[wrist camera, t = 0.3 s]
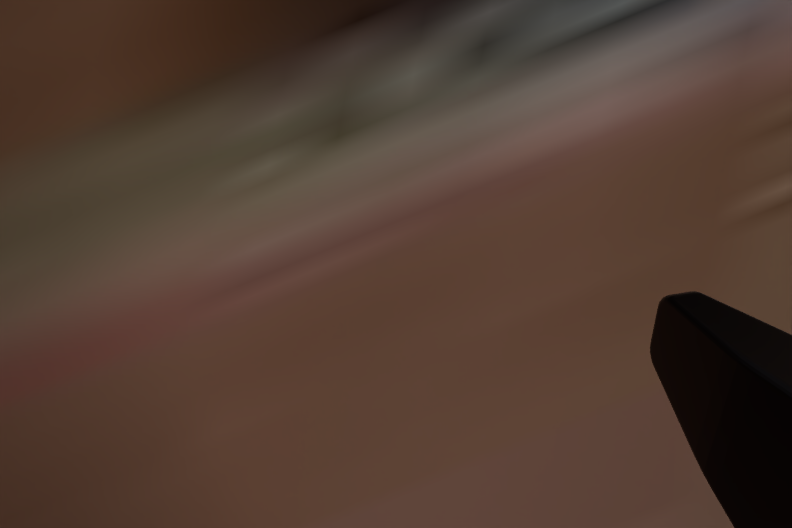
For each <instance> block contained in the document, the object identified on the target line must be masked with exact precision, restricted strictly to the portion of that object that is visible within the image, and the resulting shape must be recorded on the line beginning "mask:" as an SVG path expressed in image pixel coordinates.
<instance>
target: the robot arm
mask: <svg viewBox="0 0 792 528" xmlns="http://www.w3.org/2000/svg"><path fill="white" fill-rule="evenodd" d="M650 354H651V359H652V363H653V365H654V368H655V370H656V372H657V374H658V377H659V379H660V381H661V383H662V385H663V388H664V390H665V392H666V394H667V396H668V399H669V401H670V403H671V405H672V407H673V410H674V412H675V414H676V416H677V418H678V421H679V423H680V425H681V427H682V430H683V432H684V434H685V436H686V438H687V441H688V443H689V445H690V447H691V449H692V452H693V454H694V456H695V458H696V460H697V462H698V464H699V466H700V468H701V470H702V472H703V474H704V476H705V478H706V479H707V481H708V483H709V485H710V487H711V488H712V490H713V492H714V494H715V495H716V497H717V499H718V500H719V502H720V504H721V506H722V507H723V509H724V511H725V512H726V514H727V516H728V517H729V519H730V521H731V523H732V524H733V526H734V528H792V335H791V334H788V333H786V332H784V331H782V330H780V329H778V328H775V327H773V326H771V325H769V324H767V323H765V322H763V321H760V320H758V319H756V318H754V317H752V316H750V315H747V314H745V313H743V312H741V311H739V310H737V309H734V308H732V307H730V306H728V305H726V304H724V303H722V302H719V301H717V300H715V299H713V298H711V297H709V296H706V295H704V294H702V293H699V292H685V293H679V294H673V295H668V296H665V297H663V298H662V299H661V301H660V302H659V305H658V309H657V314H656V319H655V324H654V329H653V334H652V339H651V345H650Z"/></svg>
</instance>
